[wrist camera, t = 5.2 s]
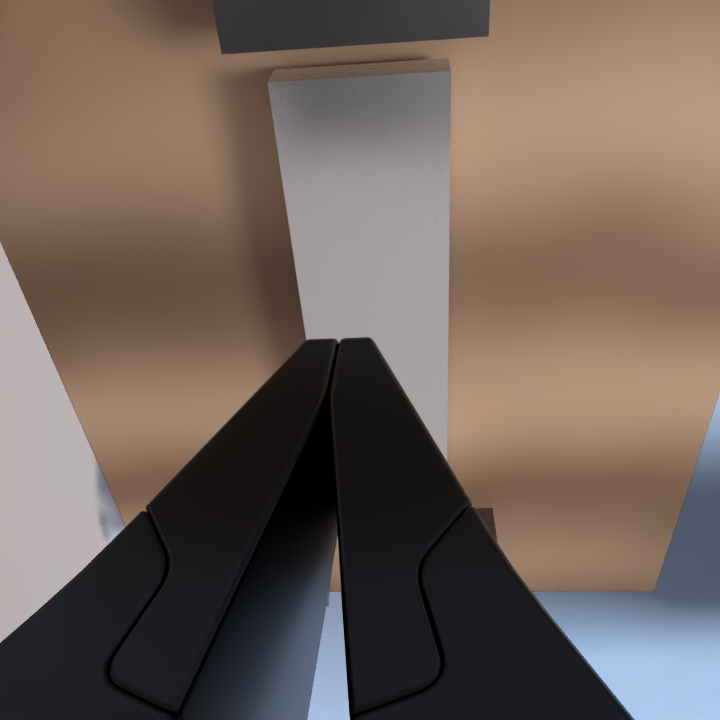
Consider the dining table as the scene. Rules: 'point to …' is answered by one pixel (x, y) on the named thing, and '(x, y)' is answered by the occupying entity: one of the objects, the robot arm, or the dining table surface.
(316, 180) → the strap
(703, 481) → the dining table surface
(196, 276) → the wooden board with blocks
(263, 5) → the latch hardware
